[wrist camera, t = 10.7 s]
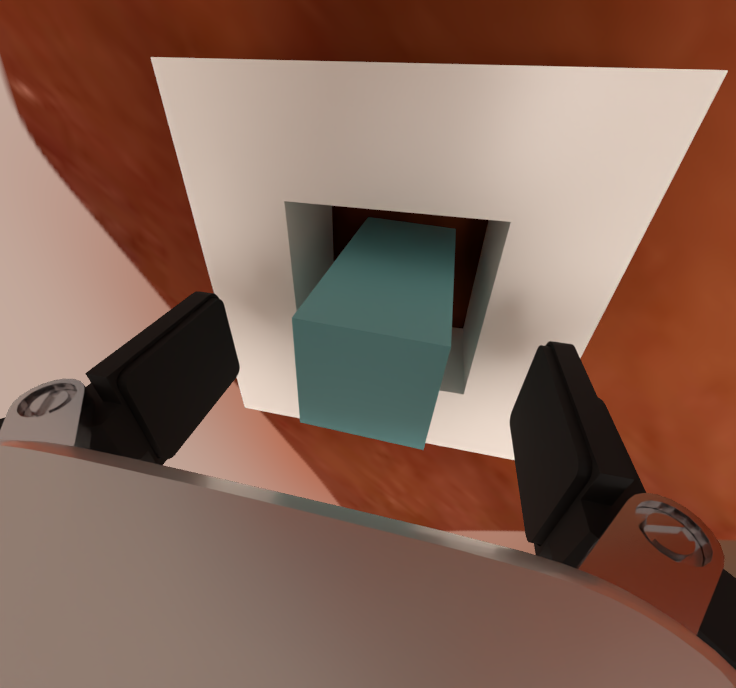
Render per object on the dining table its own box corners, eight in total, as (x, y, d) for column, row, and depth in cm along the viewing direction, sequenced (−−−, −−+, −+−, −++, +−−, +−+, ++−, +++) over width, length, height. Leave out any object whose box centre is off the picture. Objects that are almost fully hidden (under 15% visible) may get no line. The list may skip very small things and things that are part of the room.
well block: (241, 67, 13) (150, 57, 9) (634, 78, 11) (727, 70, 7) (284, 350, 22) (244, 407, 18) (513, 388, 20) (526, 462, 16)
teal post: (368, 216, 16) (291, 317, 9) (456, 228, 15) (451, 346, 8) (363, 293, 18) (300, 422, 11) (438, 306, 18) (423, 449, 10)
